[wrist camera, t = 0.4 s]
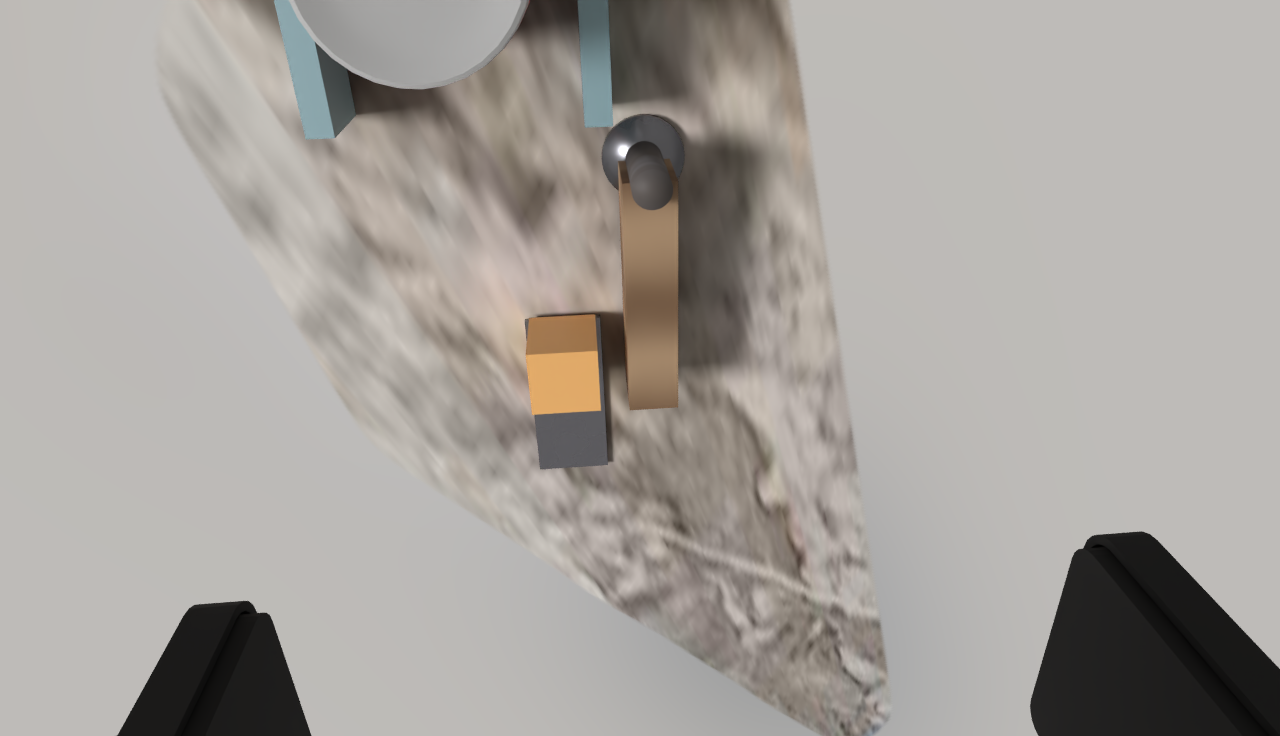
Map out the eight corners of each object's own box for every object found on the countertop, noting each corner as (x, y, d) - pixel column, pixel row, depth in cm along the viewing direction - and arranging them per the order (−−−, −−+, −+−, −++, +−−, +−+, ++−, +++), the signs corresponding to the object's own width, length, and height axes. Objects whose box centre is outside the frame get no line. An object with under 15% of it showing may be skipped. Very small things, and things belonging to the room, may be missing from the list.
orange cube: (528, 317, 43) (525, 355, 40) (595, 314, 44) (597, 350, 40) (534, 374, 45) (532, 414, 42) (598, 370, 45) (600, 410, 42)
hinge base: (599, 116, 39) (600, 117, 39) (683, 112, 39) (684, 114, 39) (603, 198, 41) (603, 199, 41) (683, 194, 41) (684, 196, 41)
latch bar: (617, 142, 39) (622, 171, 35) (669, 139, 39) (681, 168, 35) (625, 375, 45) (631, 422, 41) (670, 372, 46) (680, 419, 42)
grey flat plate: (524, 319, 44) (524, 322, 44) (599, 315, 44) (599, 317, 44) (540, 466, 49) (540, 469, 49) (607, 461, 49) (607, 465, 49)
